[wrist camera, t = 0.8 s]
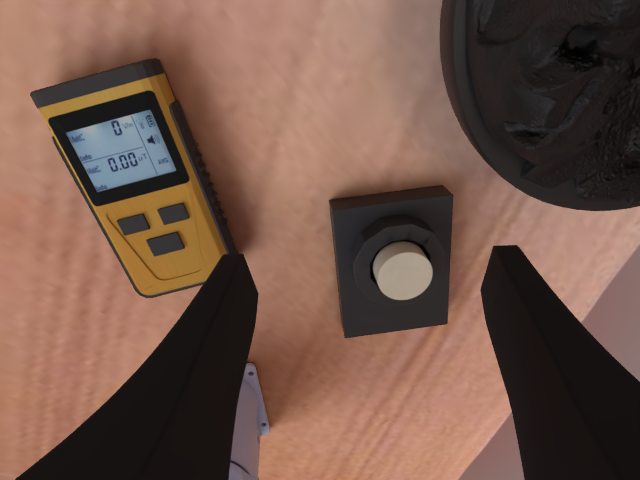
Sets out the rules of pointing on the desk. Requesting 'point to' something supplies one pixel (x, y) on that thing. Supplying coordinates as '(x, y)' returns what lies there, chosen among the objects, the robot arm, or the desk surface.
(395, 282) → the power button
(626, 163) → the coal bowl
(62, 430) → the desk surface
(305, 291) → the desk surface
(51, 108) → the electronic device
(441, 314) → the switch box
